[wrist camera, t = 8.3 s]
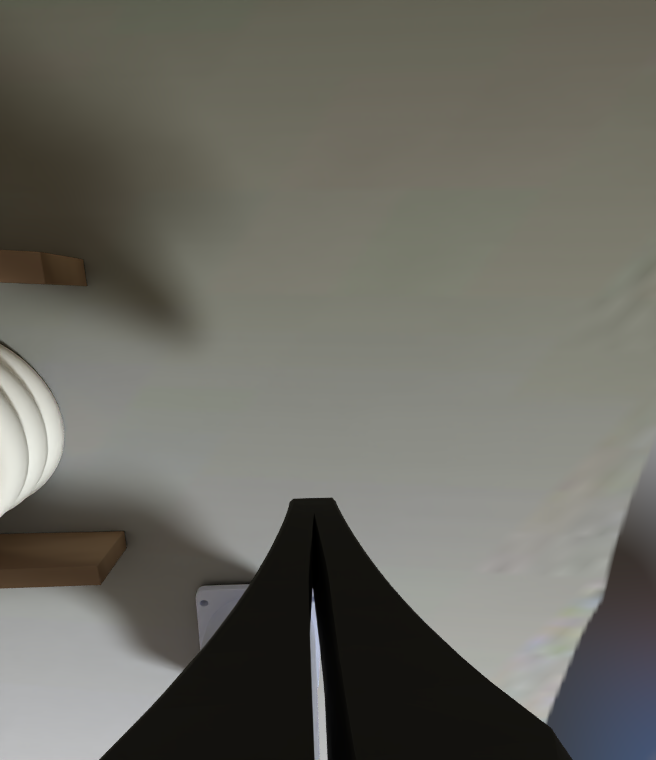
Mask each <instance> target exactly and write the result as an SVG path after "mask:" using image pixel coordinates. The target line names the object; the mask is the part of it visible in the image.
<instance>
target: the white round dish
mask: <svg viewBox="0 0 656 760" xmlns="http://www.w3.org/2000/svg"><path fill="white" fill-rule="evenodd" d="M63 447H64V426H63V421H62V416H61V413H60V410H59V407H58V404H57V402H56V400H55V398H54V396H53V394H52V392H51V391H50V389H49V388H48V386H47V385H46V383H45V382H44V381H43V380H42V378H41V377H40V376H39V375H38V374H37V372H36V371H35V370H34V369H33V368H32V367H31V366H30V365H29V364H27V363H26V362H25V361H24V360H23V359H22V358H20V357H19V356H18V355H16V354H15V353H14V352H12V351H11V350H9V349H8V348H6V347H4V346H3V345H1V344H0V517H1V516H2V515H3V514H4V513H5V512H7V511H9V510H11V509H12V508H14V507H15V506H17V505H18V504H20V503H21V502H22V501H23V500H24V499H25V498H27V497H29V496H30V495H32V494H33V493H35V492H36V491H37V490H39V489H40V488H41V487H42V486H43V485H44V484H45V483H46V482H47V481H48V479H49V478H50V477H51V475H52V474H53V472H54V471H55V469H56V467H57V465H58V463H59V461H60V459H61V455H62V452H63Z"/></svg>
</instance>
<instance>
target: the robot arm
mask: <svg viewBox="0 0 656 760" xmlns="http://www.w3.org/2000/svg"><path fill="white" fill-rule="evenodd" d="M205 600H206V601H205ZM196 607H197V619H198V631H199V642H200V652H199V653H198V654H197V655H196V657H195V658H194V659H193V660H192V661H191V662H190V664H189V665H188V666H187V667H186V668H185V669H184V670H183V672H182V673H181V674H180V675H179V676H178V677H177V678H176V680H175V681H174V682H173V683H172V684H171V685H170V686H169V688H168V689H167V690H166V691H165V692H164V693H163V694H162V695H161V697H160V698H159V699H158V700H157V701H156V702H155V703H154V704H153V705H152V706H151V707H150V708H149V709H148V710H147V711H146V712H145V714H144V715H143V716H142V717H141V718H140V719H139V720H138V721H137V722H136V723H135V724H134V725H133V726H132V727H131V728H130V729H129V730H128V731H127V732H126V733H125V734H124V735H123V736H122V737H121V738H120V739H119V740H118V741H117V742H116V743H115V744H114V745H113V746H112V747H111V748H110V749H109V750H108V751H107V752H106V753H105V754H104V755H103V756H102V757H101V758H100V759H99V760H320V750H319V723H318V695H317V688H318V686H319V668H320V654H321V663H322V671H323V681H324V693H325V711H326V732H327V754H328V760H572V758H571V757H570V755H569V754H568V752H567V751H566V749H565V748H564V747H563V745H562V744H561V742H560V741H559V739H558V738H557V736H556V735H555V733H554V732H553V730H552V729H551V728H550V727H549V726H548V725H546V724H545V723H544V722H542V721H541V720H540V719H539V718H537V717H536V716H535V715H533V714H532V713H531V712H529V711H528V710H527V709H526V708H524V707H523V706H522V705H520V704H519V703H518V702H516V701H515V700H514V699H512V698H511V697H510V696H509V695H507V694H506V693H505V692H503V691H502V690H501V689H499V688H498V687H497V686H496V685H494V684H493V683H492V682H490V681H489V680H488V679H487V678H486V677H484V676H483V675H482V674H481V673H480V672H478V671H477V670H476V669H475V668H474V667H473V666H471V665H470V664H469V663H468V662H467V661H466V660H464V659H463V658H462V657H461V656H460V655H459V654H458V653H457V652H456V651H455V650H454V649H452V648H451V647H450V646H449V645H448V644H447V643H446V642H445V641H444V640H443V639H442V638H441V637H440V636H439V635H438V634H437V633H436V632H434V631H433V630H432V629H431V628H430V627H429V626H428V625H427V624H426V623H425V622H424V621H423V620H422V619H421V618H420V617H419V616H418V615H417V614H416V613H415V612H414V611H413V609H412V608H411V607H410V606H409V605H408V604H407V603H406V602H405V601H404V600H403V599H402V597H401V596H400V595H399V594H398V593H397V592H396V591H395V590H394V588H393V587H392V586H391V585H390V584H389V582H388V581H387V580H386V579H385V578H384V576H383V575H382V574H381V573H380V571H379V570H378V569H377V567H376V566H375V565H374V563H373V562H372V561H371V559H370V558H369V557H368V555H367V554H366V552H365V551H364V550H363V548H362V546H361V545H360V543H359V542H358V540H357V539H356V537H355V536H354V534H353V533H352V531H351V530H350V528H349V526H348V525H347V523H346V521H345V519H344V518H343V516H342V514H341V512H340V510H339V508H338V506H337V504H336V501H335V500H334V499H333V498H303V499H293V500H292V501H290V503H289V508H288V511H287V514H286V517H285V519H284V521H283V524H282V526H281V528H280V531H279V533H278V535H277V537H276V539H275V541H274V543H273V545H272V547H271V549H270V551H269V553H268V554H267V556H266V558H265V560H264V561H263V563H262V565H261V566H260V568H259V570H258V572H257V573H256V575H255V577H254V578H253V580H252V581H251V583H250V584H237V585H210V586H201V587H200V588H199V589H198V590H197V593H196Z"/></svg>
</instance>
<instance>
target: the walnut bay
mask: <svg viewBox="0 0 656 760" xmlns="http://www.w3.org/2000/svg"><path fill="white" fill-rule="evenodd" d="M0 282H4V283H28V284H52V285H75V286H87V282H86V275H85V269H84V262H83V259H78V258H72V257H66V256H61V255H55V254H49V253H43V252H32V251H12V250H0ZM126 548H127V547H126V540H125V534H124V531H113V532H66V533H19V534H0V588H25V587H54V586H82V585H101V584H102V582H103V581H104V579H105V578H106V577H107V575H108V574H109V572H110V571H111V569H112V568H113V567H114V565H115V564H116V562H117V561H118V560H119V558H120V557H121V555H122V554H123V552H124V551H125V550H126Z"/></svg>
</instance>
